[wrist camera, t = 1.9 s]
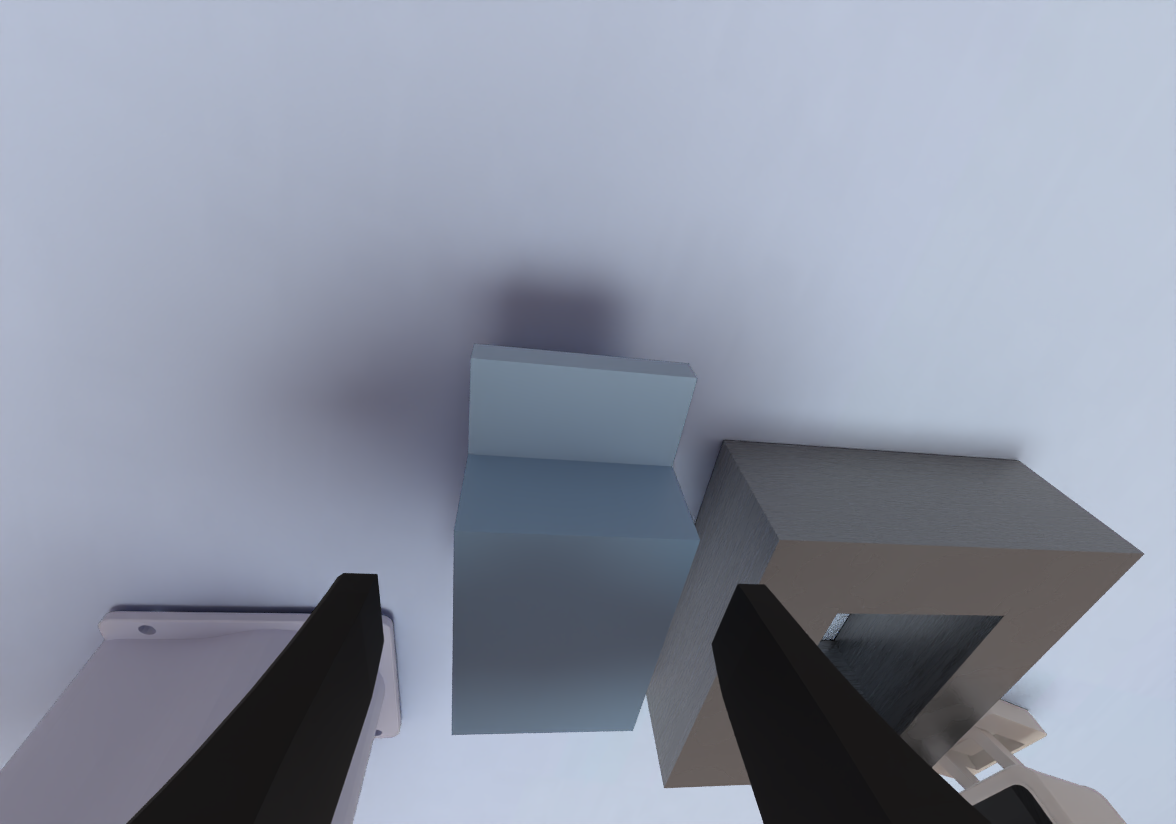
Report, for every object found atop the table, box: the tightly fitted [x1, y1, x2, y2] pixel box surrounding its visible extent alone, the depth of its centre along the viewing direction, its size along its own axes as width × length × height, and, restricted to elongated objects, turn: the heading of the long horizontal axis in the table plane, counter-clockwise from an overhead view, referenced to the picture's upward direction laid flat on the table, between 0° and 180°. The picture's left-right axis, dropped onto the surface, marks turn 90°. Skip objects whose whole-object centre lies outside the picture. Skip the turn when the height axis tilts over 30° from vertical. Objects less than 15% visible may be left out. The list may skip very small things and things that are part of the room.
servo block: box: [452, 344, 700, 735], centre depth 13 cm, size 4×10×7 cm, turn 172°
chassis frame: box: [646, 440, 1144, 788], centre depth 18 cm, size 11×13×4 cm
